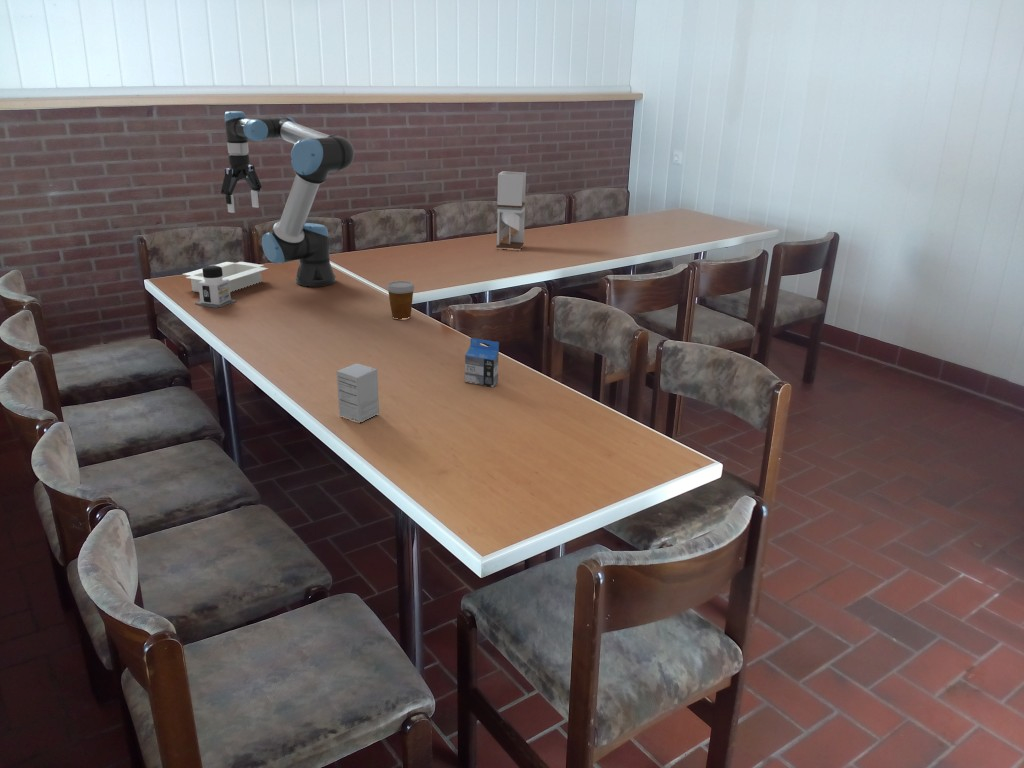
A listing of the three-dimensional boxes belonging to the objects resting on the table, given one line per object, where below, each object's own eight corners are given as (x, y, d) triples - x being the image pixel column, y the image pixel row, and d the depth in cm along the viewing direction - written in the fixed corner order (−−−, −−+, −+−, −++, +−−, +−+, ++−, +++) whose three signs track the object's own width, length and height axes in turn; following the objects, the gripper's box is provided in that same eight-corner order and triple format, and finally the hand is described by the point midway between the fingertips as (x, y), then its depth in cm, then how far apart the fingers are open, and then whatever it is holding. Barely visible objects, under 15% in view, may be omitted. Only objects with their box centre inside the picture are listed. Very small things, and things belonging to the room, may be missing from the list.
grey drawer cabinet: (359, 407, 213) (357, 362, 208) (380, 415, 209) (378, 368, 204) (338, 417, 207) (335, 370, 202) (359, 424, 203) (357, 377, 198)
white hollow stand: (496, 249, 388) (497, 174, 375) (500, 245, 398) (502, 171, 385) (520, 251, 387) (522, 175, 373) (523, 246, 396) (526, 172, 383)
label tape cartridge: (464, 382, 231) (464, 341, 226) (469, 378, 234) (470, 337, 230) (493, 387, 228) (494, 346, 223) (498, 383, 231) (499, 341, 227)
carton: (274, 281, 325) (273, 266, 322) (221, 299, 300) (220, 283, 298) (233, 274, 333) (231, 260, 330) (178, 291, 308) (176, 275, 306)
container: (219, 305, 291) (215, 269, 286) (200, 303, 293) (195, 267, 288) (231, 299, 298) (227, 264, 293) (212, 297, 300) (208, 262, 295)
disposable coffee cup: (393, 323, 279) (392, 289, 275) (383, 315, 287) (382, 282, 283) (419, 319, 284) (418, 286, 279) (409, 312, 291) (408, 279, 287)
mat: (236, 301, 298) (236, 300, 298) (216, 308, 290) (216, 306, 289) (215, 297, 302) (215, 296, 302) (195, 304, 293) (195, 302, 293)
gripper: (252, 150, 325) (257, 204, 333) (207, 156, 304) (213, 213, 312) (268, 151, 322) (272, 206, 330) (222, 157, 301) (228, 215, 309)
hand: (243, 209), depth 321 cm, fingers open, 13 cm apart
